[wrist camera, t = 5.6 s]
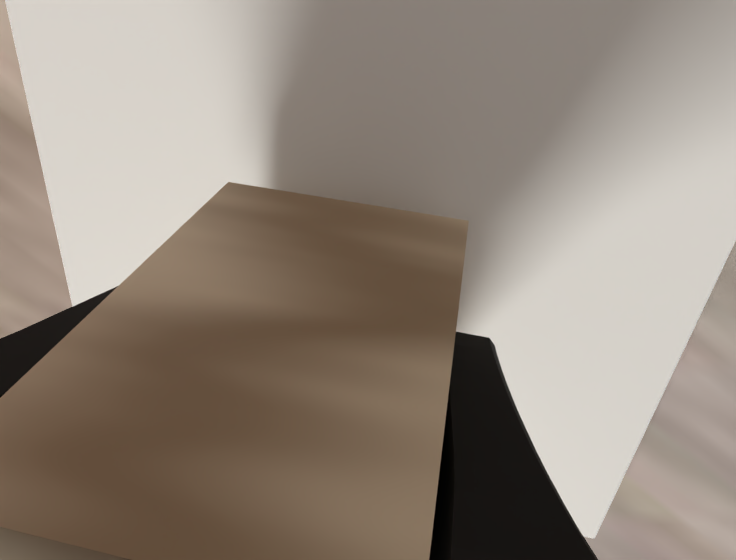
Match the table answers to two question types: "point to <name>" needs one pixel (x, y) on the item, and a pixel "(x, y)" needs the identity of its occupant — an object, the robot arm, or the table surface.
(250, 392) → the birch block
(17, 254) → the table surface
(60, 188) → the white board
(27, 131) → the table surface
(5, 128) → the table surface
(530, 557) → the robot arm
